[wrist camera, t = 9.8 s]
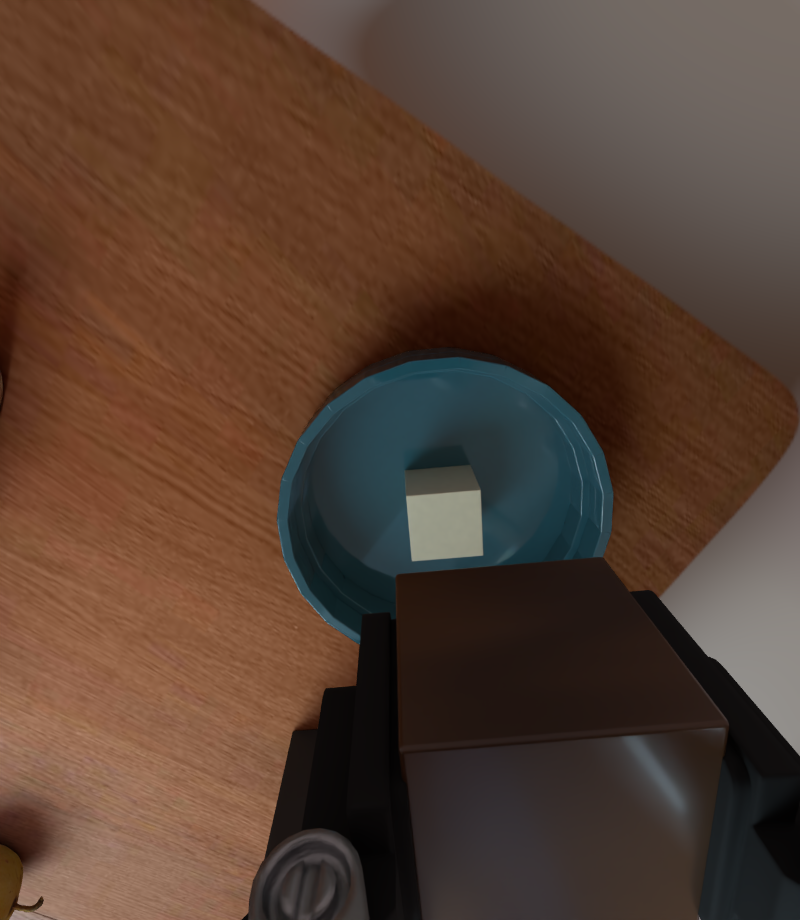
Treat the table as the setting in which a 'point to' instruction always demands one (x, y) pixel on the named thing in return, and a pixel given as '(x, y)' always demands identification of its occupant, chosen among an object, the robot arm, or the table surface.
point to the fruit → (11, 884)
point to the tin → (1, 387)
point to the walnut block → (551, 747)
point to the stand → (293, 788)
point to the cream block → (444, 513)
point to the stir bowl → (432, 446)
